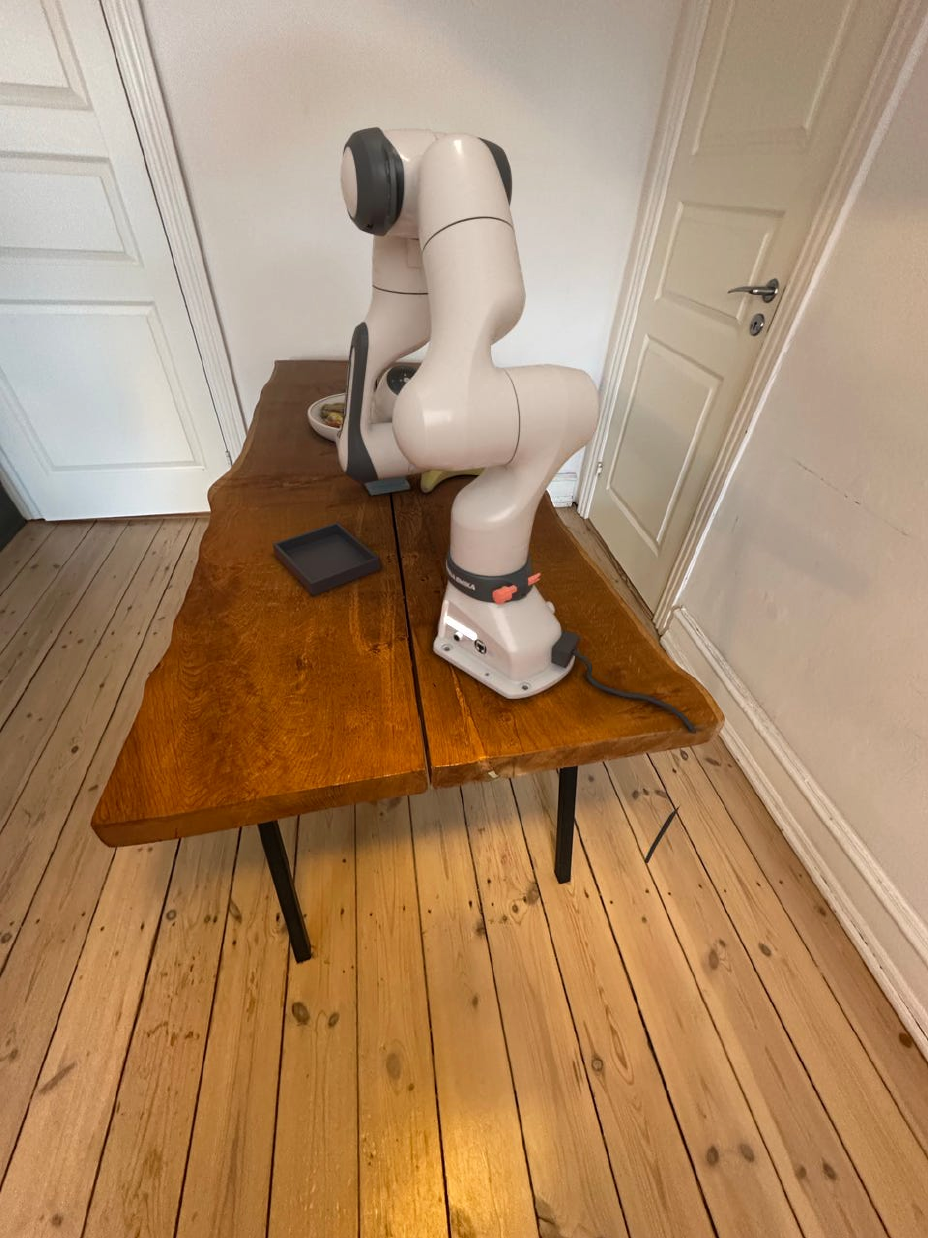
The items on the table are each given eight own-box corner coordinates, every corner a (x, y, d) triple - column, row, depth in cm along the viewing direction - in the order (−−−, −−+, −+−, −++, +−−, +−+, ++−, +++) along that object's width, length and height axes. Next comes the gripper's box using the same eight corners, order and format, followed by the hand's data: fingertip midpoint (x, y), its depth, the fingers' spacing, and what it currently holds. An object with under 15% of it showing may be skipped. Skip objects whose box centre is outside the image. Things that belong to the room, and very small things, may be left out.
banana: (424, 440, 125) (509, 452, 128) (422, 459, 130) (504, 470, 132) (421, 480, 118) (512, 492, 120) (419, 499, 122) (506, 510, 125)
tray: (380, 569, 98) (379, 557, 97) (313, 595, 92) (311, 583, 90) (339, 533, 107) (337, 521, 106) (274, 554, 101) (272, 543, 99)
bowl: (289, 423, 149) (284, 393, 144) (380, 401, 165) (379, 374, 160) (350, 461, 132) (346, 429, 127) (444, 432, 148) (445, 403, 143)
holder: (410, 489, 122) (409, 474, 120) (371, 495, 119) (369, 480, 117) (390, 463, 132) (390, 449, 130) (354, 469, 129) (352, 454, 127)
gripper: (342, 443, 105) (336, 470, 118) (441, 431, 112) (424, 457, 125) (334, 412, 106) (329, 442, 119) (433, 401, 112) (417, 431, 125)
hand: (378, 450), depth 122 cm, fingers closed on tape, 3 cm apart
